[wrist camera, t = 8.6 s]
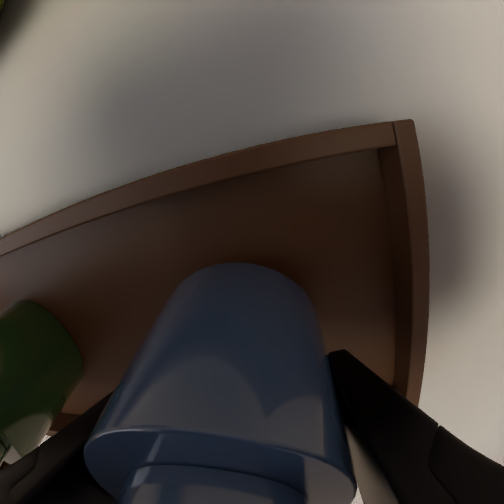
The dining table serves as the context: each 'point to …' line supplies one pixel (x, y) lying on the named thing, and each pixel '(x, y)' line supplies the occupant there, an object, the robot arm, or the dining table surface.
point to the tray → (243, 250)
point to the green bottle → (33, 376)
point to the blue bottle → (227, 401)
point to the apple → (1, 4)
